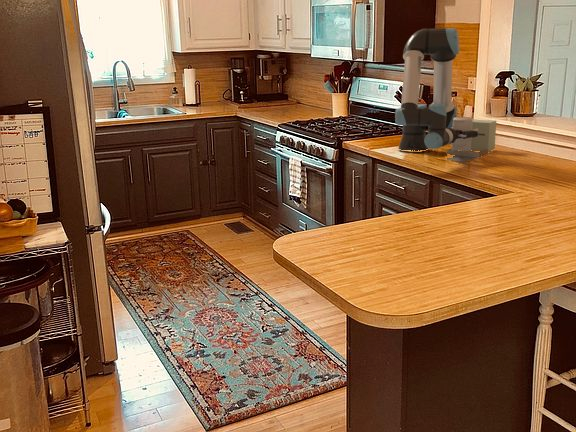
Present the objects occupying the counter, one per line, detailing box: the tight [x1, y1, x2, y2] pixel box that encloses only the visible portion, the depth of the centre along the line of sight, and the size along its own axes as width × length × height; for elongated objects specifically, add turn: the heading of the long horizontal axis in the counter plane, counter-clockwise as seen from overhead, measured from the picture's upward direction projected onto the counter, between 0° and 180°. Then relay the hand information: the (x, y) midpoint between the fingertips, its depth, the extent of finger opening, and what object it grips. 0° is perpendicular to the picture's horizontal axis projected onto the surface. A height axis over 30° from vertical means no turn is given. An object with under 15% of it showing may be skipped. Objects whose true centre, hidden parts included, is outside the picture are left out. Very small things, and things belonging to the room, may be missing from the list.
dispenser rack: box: [445, 119, 497, 159], centre depth 312 cm, size 24×16×15 cm
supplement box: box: [451, 116, 473, 152], centre depth 300 cm, size 9×9×15 cm
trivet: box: [447, 155, 477, 163], centre depth 301 cm, size 14×14×1 cm
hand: (465, 130), depth 303 cm, fingers closed on supplement box, 11 cm apart
